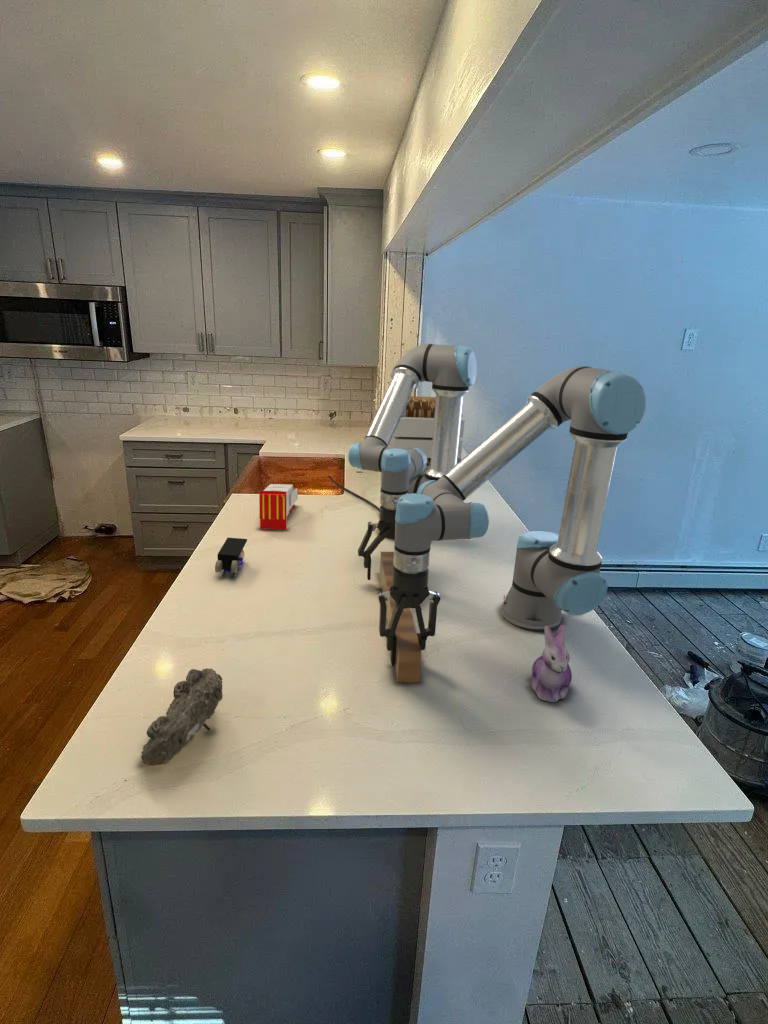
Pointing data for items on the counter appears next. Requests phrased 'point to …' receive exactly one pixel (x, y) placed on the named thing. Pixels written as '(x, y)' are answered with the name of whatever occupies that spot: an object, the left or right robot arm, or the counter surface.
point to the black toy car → (230, 556)
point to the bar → (401, 629)
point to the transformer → (420, 427)
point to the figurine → (552, 668)
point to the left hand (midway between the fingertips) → (389, 578)
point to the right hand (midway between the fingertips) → (404, 661)
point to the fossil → (183, 716)
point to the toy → (276, 505)
